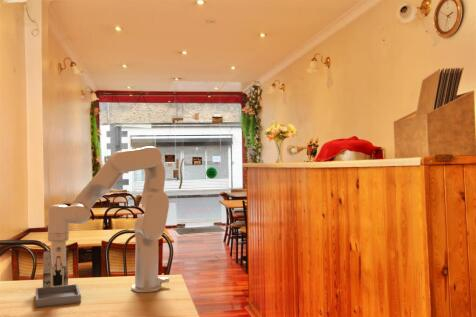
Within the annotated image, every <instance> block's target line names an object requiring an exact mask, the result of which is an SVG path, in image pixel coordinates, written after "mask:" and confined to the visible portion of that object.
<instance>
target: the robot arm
mask: <svg viewBox="0 0 476 317" xmlns="http://www.w3.org/2000/svg"><path fill="white" fill-rule="evenodd" d="M162 160H163V155H162V151H161V150H160V149H159V148H157V147H156V146H143V147H140V148H136V149H129V150H118V151H117V150H116V151H115V152H113V153H112V154H110V157H108V159H107V160H106V161H105V162H104V163H103V165H102V166H101V168H100V169H99V170H98V172H97V173H96V174H95V176H93V178H92V179H91V180H90V181H89V182H88V183H87V184H86V186H85V187H84V188H83V189H82V190H81V191H80V193H79V194H78V195H77V196H76V197H75V199H74V200H73V202H72V203H70V205H67V204H52V205H50V206H49V207H48V212H47V214H48V215H47V217H48V218H47V219H48V220H47V242H50V250H51V261H52V267H53V268H54V275H53V286H59V285H62V266H64V267H65V266H66V248H67V242H68V241H69V236H70V235H69V234H70V224H74V225H75V224H77V225H79V224H80V225H81V224H82V225H83V224H85V223H87V222H88V221H89V219H90V218H91V209H92V208H93V207H94V205H95V204H96V203H97V202H98V201H99V200H100V199H101V198H102V197H103V196H106V195H107V194H108V193H110V191H112V189H113V188H114V187H115V185H116V184H117V182H118V181H119V180H120V179H121V177H123V175H124V174H125V173H128V172H135V171H140V170H144V183H143V189H142V194H141V198H140V203H141V206H142V207H143V208H144V213H142V214H140V215H139V216H138V217H137V218H136V220H135V222H134V238H135V252H134V253H135V254H134V255H135V258H134V259H135V261H134V263H135V265H134V268H135V269H134V271H135V272H134V277H135V278H134V283H133V284H132V285H131V287H130V288H131V291H133V292H135V293H153V292H158V291H160V290H161V289H162V286H163V285H162V284H166V283H169V282H170V278H169V277H159V238H162V236H163V234H164V232H165V229H166V225H167V220H168V215H169V208H170V200H169V196H168V195H167V193H166V192H164V190H165V183H166V181H165V180H166V169H165V165H164V164H163V161H162ZM55 266H57V267H55ZM60 266H61V267H60Z"/></svg>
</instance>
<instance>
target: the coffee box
mask: <svg viewBox="0 0 476 317" xmlns="http://www.w3.org/2000/svg"><path fill="white" fill-rule="evenodd" d="M42 258H43V259H42V261H43V262H42V288H43V287H51V266H52V261H51V249H49V250H46V251H43V257H42ZM64 285H69V248H68V247H66V266H65V267H64Z"/></svg>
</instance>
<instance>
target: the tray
mask: <svg viewBox="0 0 476 317" xmlns="http://www.w3.org/2000/svg"><path fill="white" fill-rule="evenodd" d="M81 303H82V294H81V292H80V288H79V285H78V283H76V284H68V285H64V286H61V287H43V286H42V287H36V288H35V309H39V308H40V309H41V308H49V307H56V306H57V307H58V306H63V305H74V304H81Z"/></svg>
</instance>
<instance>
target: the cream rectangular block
mask: <svg viewBox="0 0 476 317" xmlns="http://www.w3.org/2000/svg"><path fill="white" fill-rule="evenodd" d="M55 267H57V266H55ZM60 267H61V266H60ZM53 275H54V268H53V267H52V266H51V287H61V286H64V266H62V285H59V286H53Z"/></svg>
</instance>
